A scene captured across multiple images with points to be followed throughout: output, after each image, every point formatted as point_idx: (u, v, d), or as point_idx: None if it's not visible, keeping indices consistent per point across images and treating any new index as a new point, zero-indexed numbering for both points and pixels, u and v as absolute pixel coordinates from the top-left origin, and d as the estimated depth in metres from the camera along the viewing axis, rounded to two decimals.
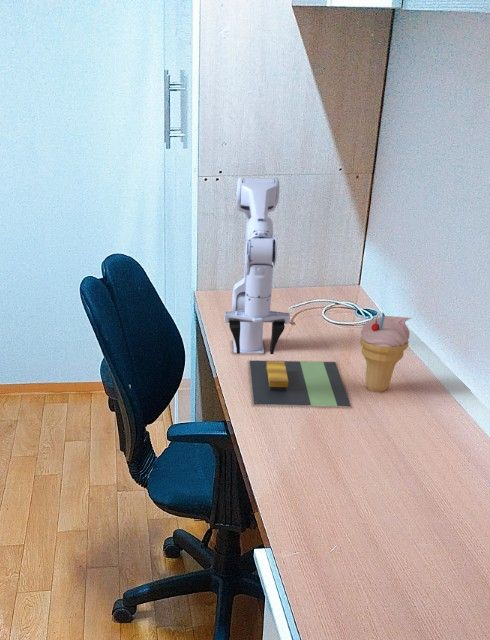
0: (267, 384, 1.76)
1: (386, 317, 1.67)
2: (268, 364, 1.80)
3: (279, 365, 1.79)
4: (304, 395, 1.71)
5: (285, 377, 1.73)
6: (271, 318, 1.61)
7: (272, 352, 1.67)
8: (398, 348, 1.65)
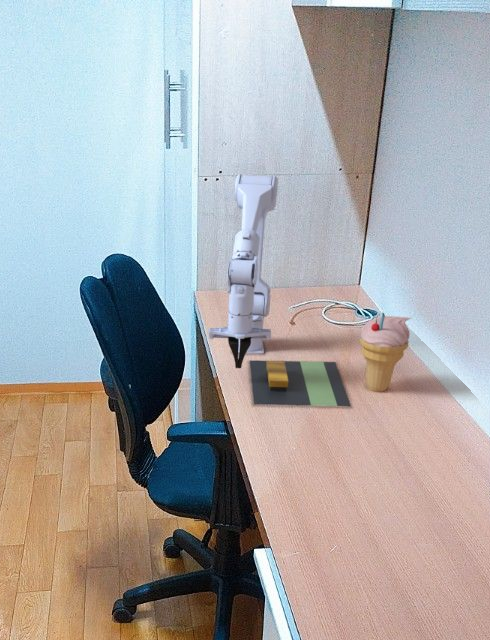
0: (267, 384, 1.76)
1: (386, 317, 1.67)
2: (268, 364, 1.80)
3: (279, 365, 1.79)
4: (304, 395, 1.71)
5: (285, 377, 1.73)
6: (253, 334, 1.70)
7: (240, 366, 1.75)
8: (398, 348, 1.65)
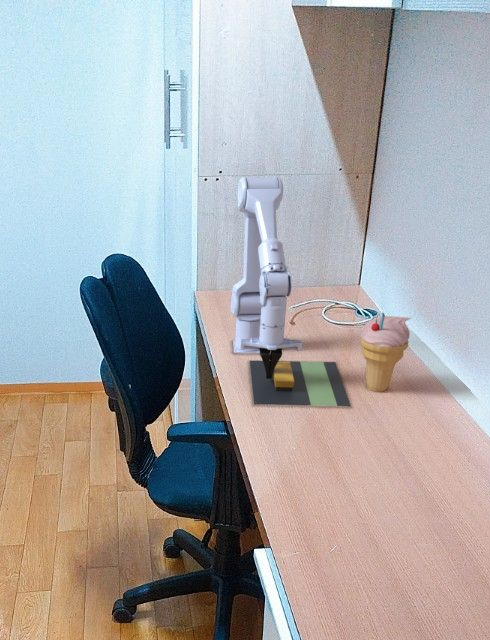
0: (267, 384, 1.76)
1: (386, 317, 1.67)
2: None
3: (285, 366, 1.79)
4: (304, 395, 1.71)
5: (291, 377, 1.73)
6: (284, 346, 1.71)
7: (270, 377, 1.76)
8: (398, 348, 1.65)
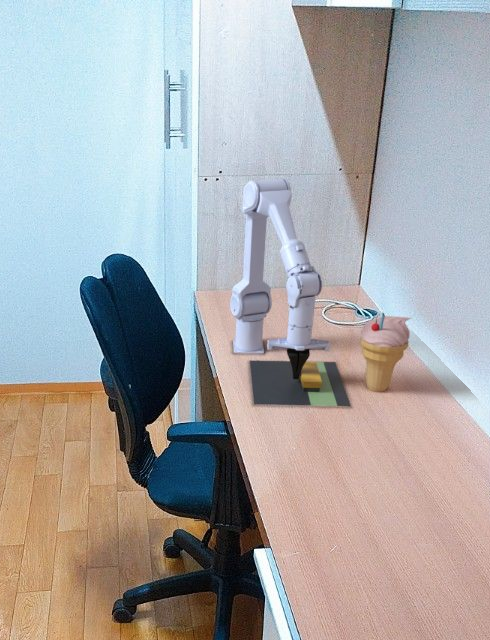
0: (267, 384, 1.76)
1: (386, 317, 1.67)
2: None
3: (312, 366, 1.79)
4: (304, 395, 1.71)
5: (318, 378, 1.73)
6: (312, 346, 1.71)
7: (297, 377, 1.76)
8: (398, 348, 1.65)
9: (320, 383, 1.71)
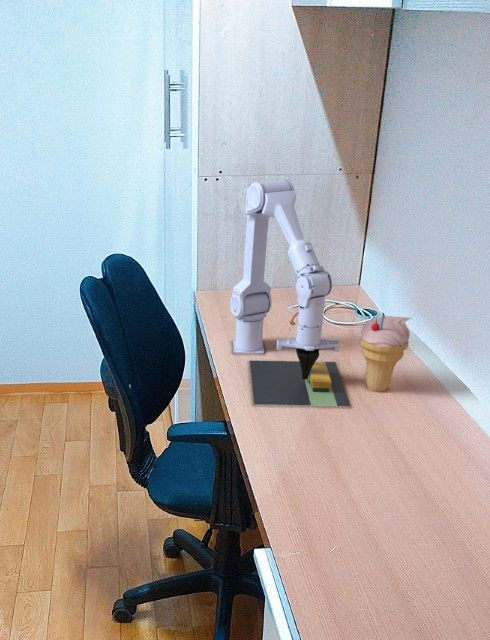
0: (267, 384, 1.76)
1: (386, 317, 1.67)
2: None
3: (321, 366, 1.79)
4: (304, 395, 1.71)
5: (328, 378, 1.73)
6: (322, 346, 1.71)
7: (306, 377, 1.76)
8: (398, 348, 1.65)
9: (330, 383, 1.71)
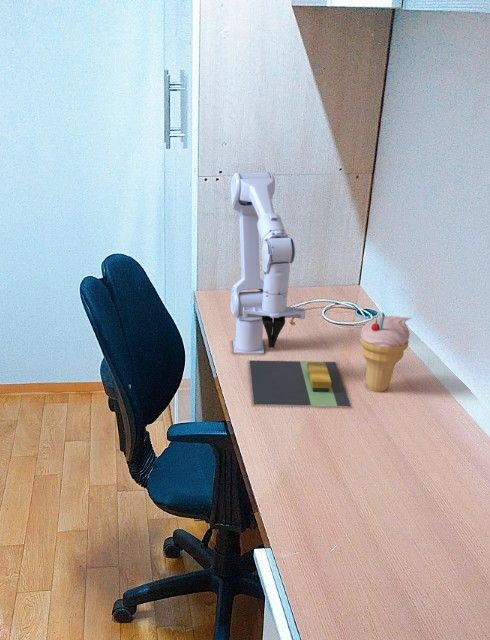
0: (267, 384, 1.76)
1: (386, 317, 1.67)
2: (309, 365, 1.79)
3: (321, 366, 1.79)
4: (304, 395, 1.71)
5: (328, 378, 1.73)
6: (287, 314, 1.70)
7: (273, 346, 1.75)
8: (398, 348, 1.65)
9: (330, 383, 1.71)
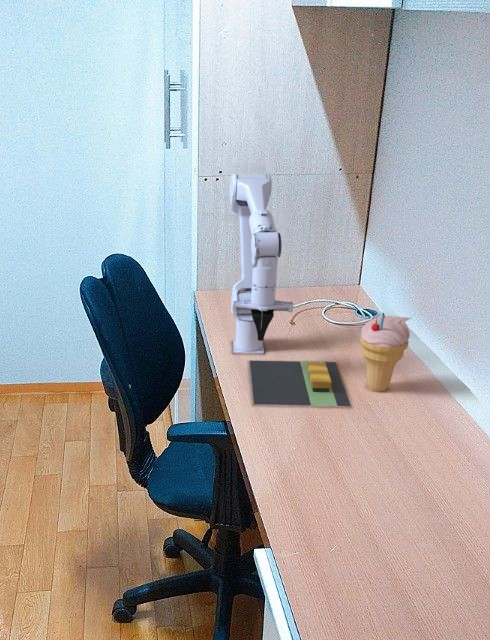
0: (267, 384, 1.76)
1: (386, 317, 1.67)
2: (309, 365, 1.79)
3: (321, 366, 1.79)
4: (304, 395, 1.71)
5: (328, 378, 1.73)
6: (276, 307, 1.73)
7: (262, 339, 1.78)
8: (398, 348, 1.65)
9: (330, 383, 1.71)
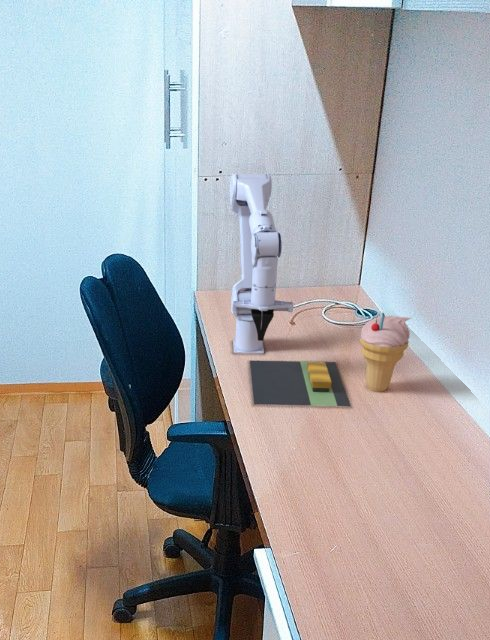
0: (267, 384, 1.76)
1: (386, 317, 1.67)
2: (309, 365, 1.79)
3: (321, 366, 1.79)
4: (304, 395, 1.71)
5: (328, 378, 1.73)
6: (276, 307, 1.73)
7: (262, 339, 1.78)
8: (398, 348, 1.65)
9: (330, 383, 1.71)
